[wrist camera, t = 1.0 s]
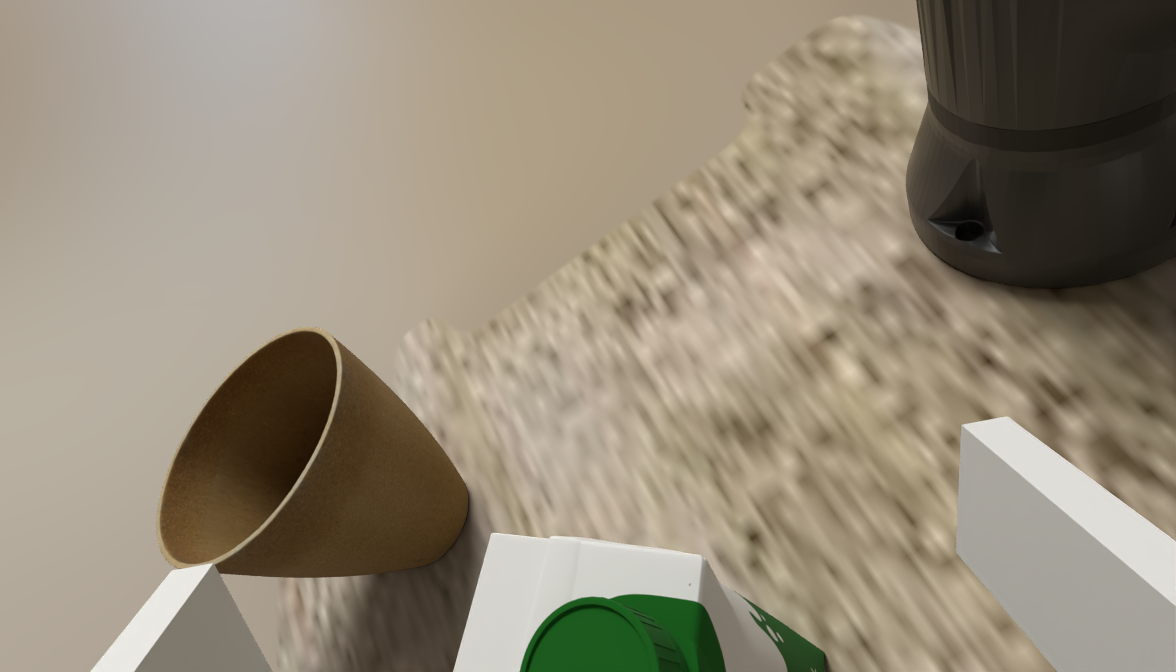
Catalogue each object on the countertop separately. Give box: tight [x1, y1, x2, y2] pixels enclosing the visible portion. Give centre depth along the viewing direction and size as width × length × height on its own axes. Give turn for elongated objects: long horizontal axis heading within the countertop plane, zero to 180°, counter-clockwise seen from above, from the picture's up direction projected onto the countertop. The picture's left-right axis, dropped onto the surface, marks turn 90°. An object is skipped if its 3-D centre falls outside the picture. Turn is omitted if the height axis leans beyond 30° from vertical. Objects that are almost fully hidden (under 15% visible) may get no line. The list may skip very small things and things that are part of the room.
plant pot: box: [156, 327, 468, 578], centre depth 41 cm, size 15×15×16 cm
